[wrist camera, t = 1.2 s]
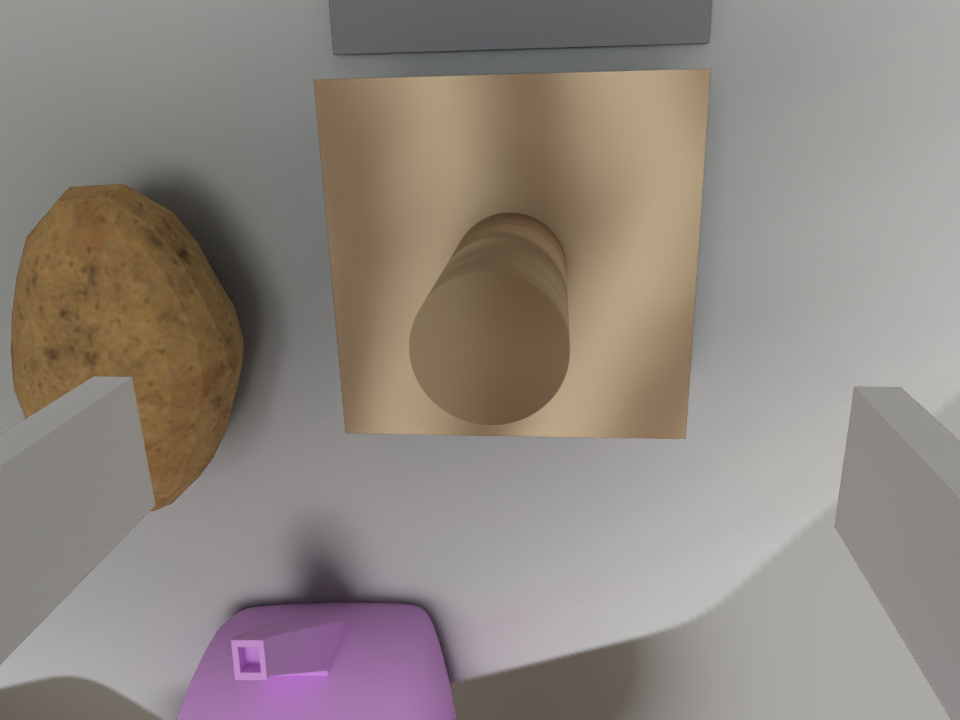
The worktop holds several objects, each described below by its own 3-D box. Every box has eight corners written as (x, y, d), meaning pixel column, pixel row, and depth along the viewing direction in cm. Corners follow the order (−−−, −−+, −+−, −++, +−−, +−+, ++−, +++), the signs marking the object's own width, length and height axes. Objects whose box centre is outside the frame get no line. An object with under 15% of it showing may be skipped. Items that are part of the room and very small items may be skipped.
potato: (272, 179, 35) (193, 207, 27) (274, 463, 40) (207, 553, 32) (60, 158, 35) (-74, 179, 28) (87, 440, 40) (-21, 523, 33)
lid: (351, 422, 32) (264, 567, 22) (322, 79, 27) (198, 79, 18) (681, 427, 30) (736, 583, 21) (705, 69, 26) (787, 63, 17)
